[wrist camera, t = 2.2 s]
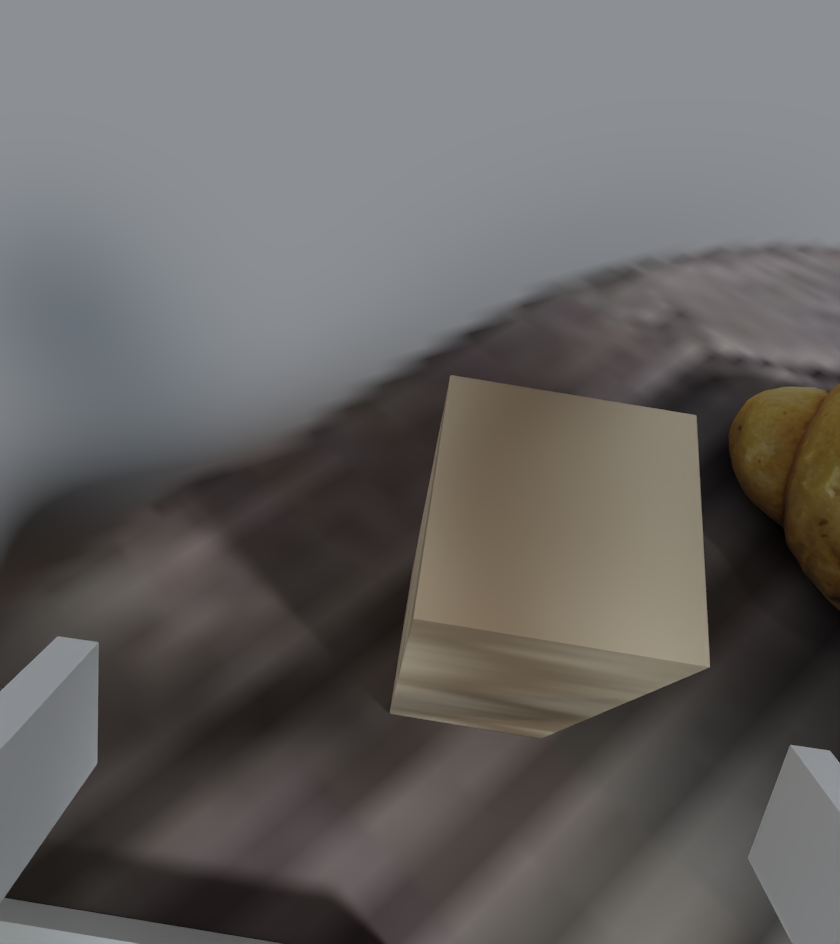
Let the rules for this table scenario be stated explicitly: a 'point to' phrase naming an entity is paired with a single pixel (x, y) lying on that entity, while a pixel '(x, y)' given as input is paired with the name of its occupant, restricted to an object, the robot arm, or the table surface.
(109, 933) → the stone tile base
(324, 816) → the table surface
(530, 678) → the beech block
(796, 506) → the bread roll
